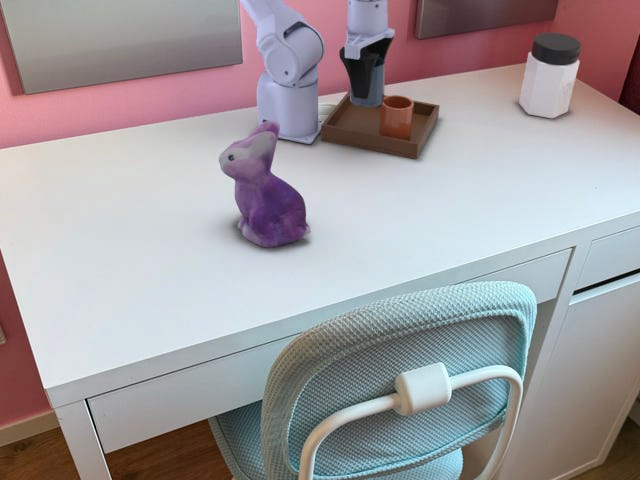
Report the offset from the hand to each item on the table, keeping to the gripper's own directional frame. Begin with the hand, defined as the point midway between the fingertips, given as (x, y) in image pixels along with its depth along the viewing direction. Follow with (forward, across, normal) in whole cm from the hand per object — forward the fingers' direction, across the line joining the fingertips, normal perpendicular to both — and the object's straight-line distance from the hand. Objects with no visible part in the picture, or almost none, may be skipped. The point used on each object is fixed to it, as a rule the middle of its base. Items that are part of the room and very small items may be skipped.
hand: (366, 90), depth 112 cm
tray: (+9, +7, 0) cm, 12 cm away
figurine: (+10, -28, +5) cm, 30 cm away
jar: (+10, +27, -25) cm, 39 cm away
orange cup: (+9, +4, -4) cm, 11 cm away
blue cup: (+2, 0, 0) cm, 2 cm away
